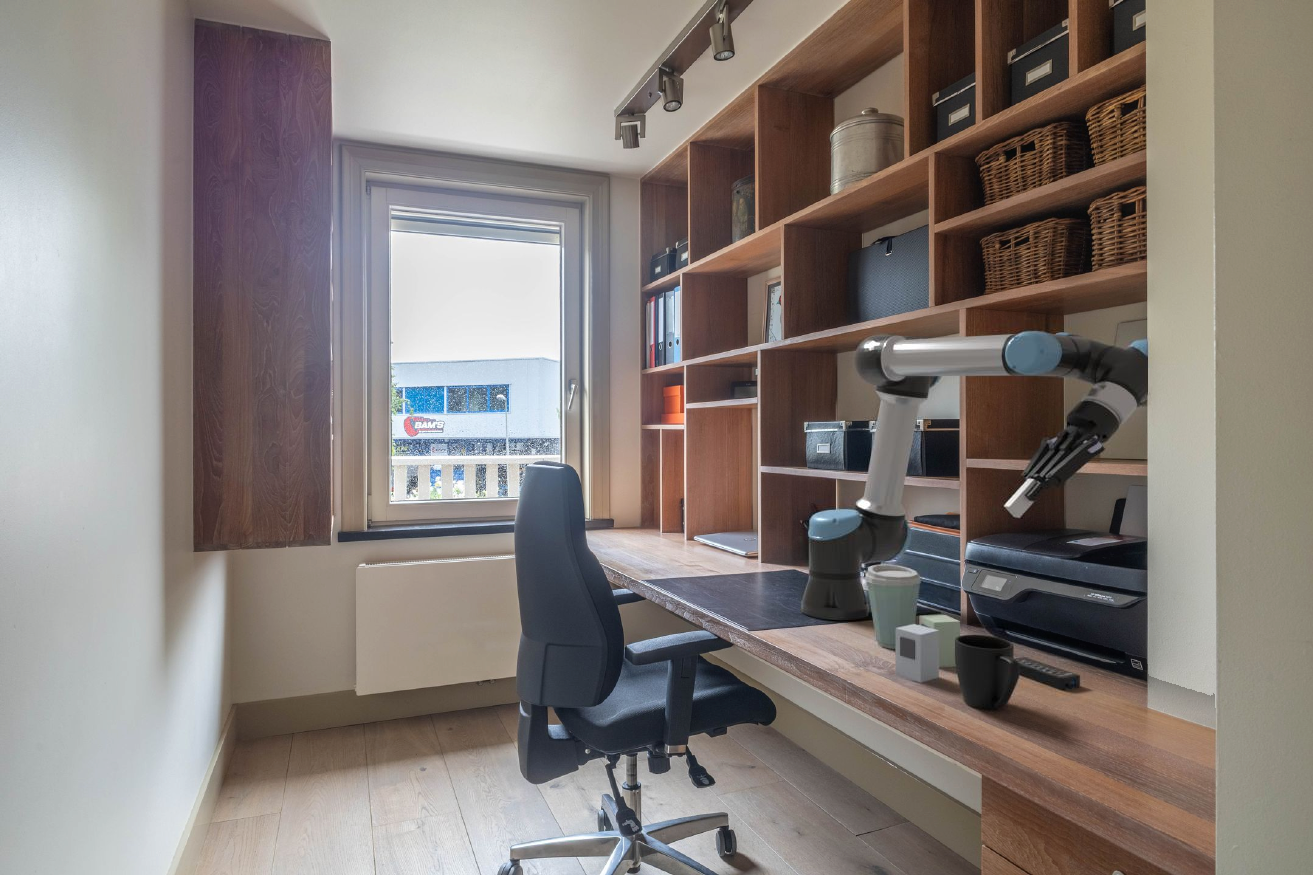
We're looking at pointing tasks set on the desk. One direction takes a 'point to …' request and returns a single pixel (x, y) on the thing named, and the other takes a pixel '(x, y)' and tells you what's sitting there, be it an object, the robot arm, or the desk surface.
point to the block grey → (917, 653)
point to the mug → (986, 670)
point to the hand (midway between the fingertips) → (1011, 511)
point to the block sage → (943, 636)
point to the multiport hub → (1048, 674)
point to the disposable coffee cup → (892, 600)
